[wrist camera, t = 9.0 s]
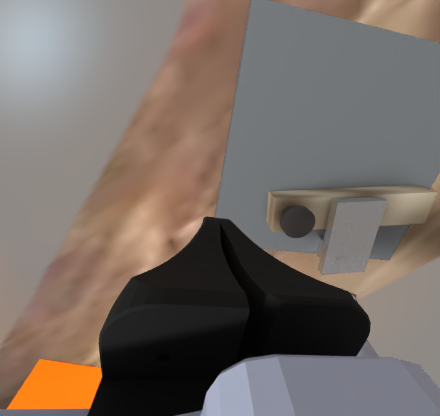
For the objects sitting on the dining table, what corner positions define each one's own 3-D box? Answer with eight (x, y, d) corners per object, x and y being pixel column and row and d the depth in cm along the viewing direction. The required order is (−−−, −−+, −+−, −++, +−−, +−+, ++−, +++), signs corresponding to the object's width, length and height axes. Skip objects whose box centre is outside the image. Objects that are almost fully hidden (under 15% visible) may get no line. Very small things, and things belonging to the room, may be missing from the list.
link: (266, 221, 20) (278, 241, 17) (268, 191, 19) (281, 207, 16) (405, 213, 21) (441, 231, 18) (416, 184, 20) (457, 198, 17)
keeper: (305, 251, 23) (322, 274, 19) (315, 188, 20) (338, 202, 17) (341, 249, 23) (364, 271, 20) (357, 186, 20) (387, 200, 17)
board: (382, 254, 25) (389, 260, 24) (210, 238, 22) (211, 243, 21) (488, 62, 17) (503, 59, 17) (249, 3, 15) (252, -4, 14)
